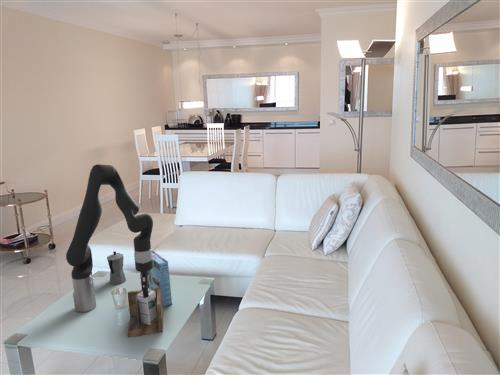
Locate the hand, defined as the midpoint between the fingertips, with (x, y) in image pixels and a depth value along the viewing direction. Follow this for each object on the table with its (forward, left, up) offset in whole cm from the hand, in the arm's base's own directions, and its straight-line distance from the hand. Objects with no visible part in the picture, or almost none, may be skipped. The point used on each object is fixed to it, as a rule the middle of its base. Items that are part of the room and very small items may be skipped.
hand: (146, 292), depth 177 cm
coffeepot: (-20, +50, -16) cm, 56 cm away
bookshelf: (-2, 0, -16) cm, 16 cm away
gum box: (+4, +24, -16) cm, 29 cm away
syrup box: (0, 0, -15) cm, 15 cm away
